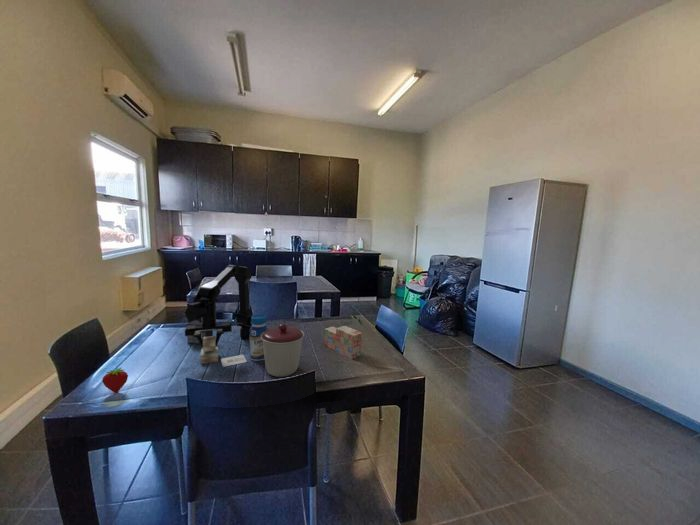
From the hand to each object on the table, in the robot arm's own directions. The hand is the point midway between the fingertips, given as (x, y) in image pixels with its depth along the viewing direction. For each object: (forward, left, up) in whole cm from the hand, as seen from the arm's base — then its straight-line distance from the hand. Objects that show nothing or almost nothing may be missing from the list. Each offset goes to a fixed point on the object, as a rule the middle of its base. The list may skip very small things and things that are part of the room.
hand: (209, 346), depth 131 cm
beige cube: (0, 0, -1) cm, 1 cm away
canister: (-29, +21, -6) cm, 36 cm away
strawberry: (+30, +17, -6) cm, 35 cm away
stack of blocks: (-61, +10, -6) cm, 62 cm away
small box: (+5, -22, -6) cm, 23 cm away
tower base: (0, 0, -6) cm, 6 cm away
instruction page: (-10, +5, -6) cm, 13 cm away
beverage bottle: (-21, +5, -6) cm, 22 cm away
